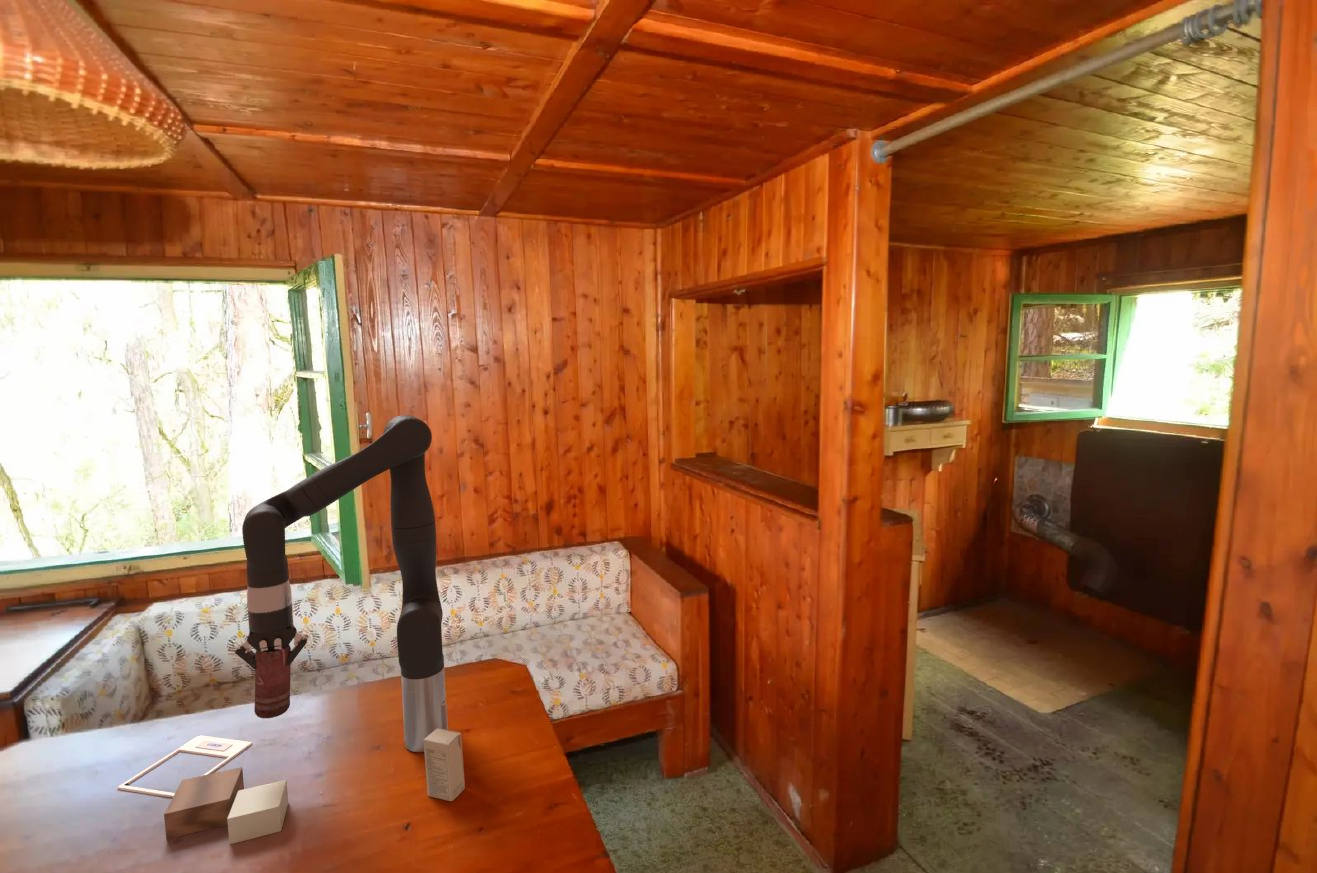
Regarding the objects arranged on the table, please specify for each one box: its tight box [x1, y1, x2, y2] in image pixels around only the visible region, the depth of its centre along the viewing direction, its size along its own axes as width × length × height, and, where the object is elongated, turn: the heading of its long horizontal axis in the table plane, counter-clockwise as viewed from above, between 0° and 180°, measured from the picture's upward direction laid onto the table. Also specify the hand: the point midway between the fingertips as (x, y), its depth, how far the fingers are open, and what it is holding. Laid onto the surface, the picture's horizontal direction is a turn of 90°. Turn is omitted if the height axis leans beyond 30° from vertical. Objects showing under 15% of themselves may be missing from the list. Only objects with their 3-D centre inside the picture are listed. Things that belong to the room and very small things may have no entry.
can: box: [254, 644, 292, 719], centre depth 124 cm, size 6×6×14 cm
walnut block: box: [163, 766, 245, 840], centre depth 117 cm, size 10×10×5 cm
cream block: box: [227, 779, 289, 845], centre depth 114 cm, size 8×8×5 cm
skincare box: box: [423, 728, 466, 802], centre depth 122 cm, size 6×4×12 cm
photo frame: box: [117, 734, 253, 799], centre depth 132 cm, size 15×1×18 cm
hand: (275, 685), depth 124 cm, fingers closed
